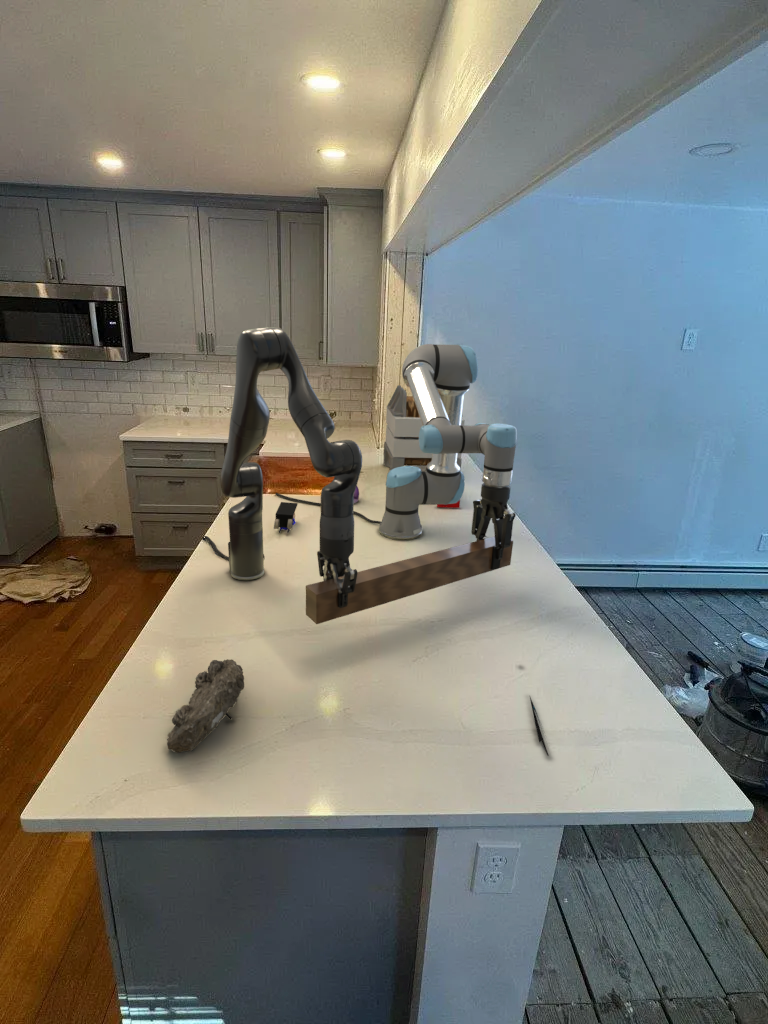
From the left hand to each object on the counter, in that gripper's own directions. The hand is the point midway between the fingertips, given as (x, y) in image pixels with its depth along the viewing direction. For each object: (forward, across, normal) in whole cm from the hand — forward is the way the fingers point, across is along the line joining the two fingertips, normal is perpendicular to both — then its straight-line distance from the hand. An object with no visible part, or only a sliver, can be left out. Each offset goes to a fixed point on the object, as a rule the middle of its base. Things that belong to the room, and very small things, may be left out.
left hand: (336, 601), depth 129 cm
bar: (+3, 0, +24) cm, 24 cm away
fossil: (+12, +9, -32) cm, 36 cm away
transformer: (+11, -107, +110) cm, 154 cm away
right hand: (+2, 0, +48) cm, 48 cm away
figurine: (+11, -87, +57) cm, 105 cm away
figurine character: (+11, -73, +22) cm, 77 cm away
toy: (+11, -73, +96) cm, 121 cm away
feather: (+12, +40, +22) cm, 47 cm away
